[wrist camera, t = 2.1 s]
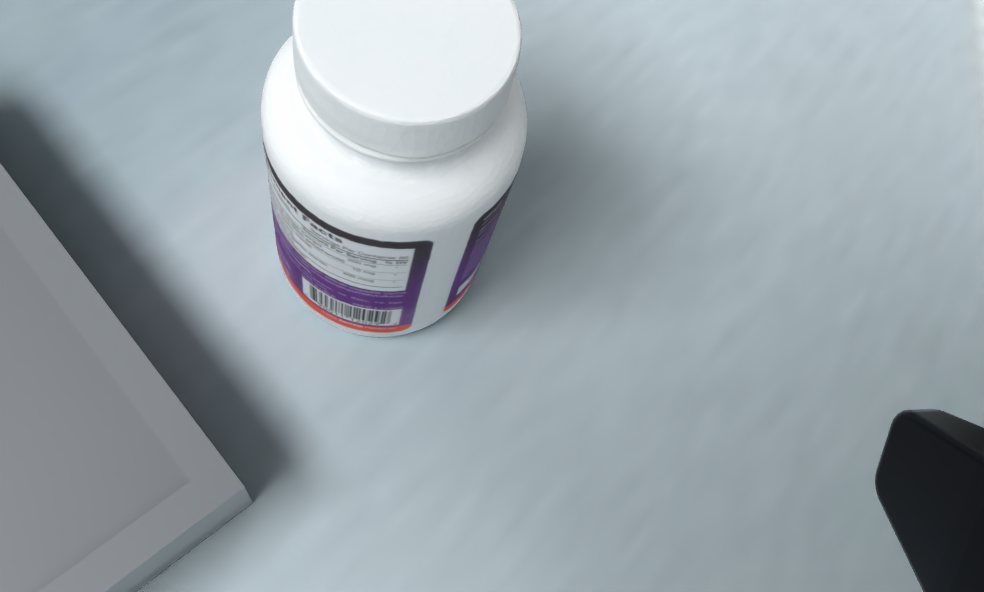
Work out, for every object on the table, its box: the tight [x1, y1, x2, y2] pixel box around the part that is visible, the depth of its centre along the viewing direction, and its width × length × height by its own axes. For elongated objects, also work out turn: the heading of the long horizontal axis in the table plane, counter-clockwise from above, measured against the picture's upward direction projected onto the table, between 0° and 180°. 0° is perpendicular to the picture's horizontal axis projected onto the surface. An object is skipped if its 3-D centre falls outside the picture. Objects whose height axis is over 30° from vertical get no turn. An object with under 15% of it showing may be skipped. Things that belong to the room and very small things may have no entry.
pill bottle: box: [261, 0, 527, 337], centre depth 20 cm, size 5×5×10 cm
